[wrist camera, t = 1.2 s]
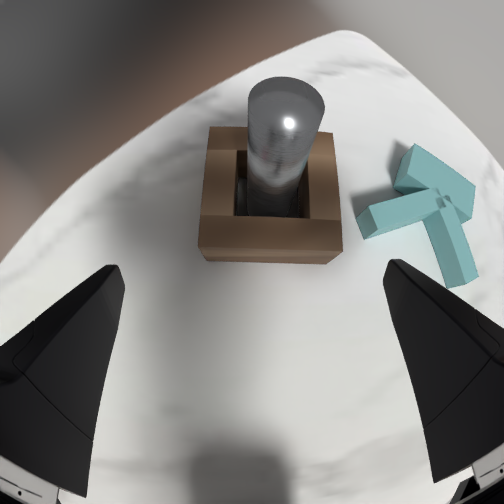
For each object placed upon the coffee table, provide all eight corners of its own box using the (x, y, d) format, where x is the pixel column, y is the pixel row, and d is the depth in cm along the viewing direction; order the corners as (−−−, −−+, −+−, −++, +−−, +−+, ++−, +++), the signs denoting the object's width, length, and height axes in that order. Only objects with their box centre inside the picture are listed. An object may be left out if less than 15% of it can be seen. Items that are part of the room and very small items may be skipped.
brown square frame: (325, 264, 24) (342, 251, 19) (206, 260, 24) (197, 246, 19) (320, 160, 26) (332, 133, 22) (215, 155, 26) (210, 126, 21)
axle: (297, 205, 25) (338, 103, 12) (270, 234, 24) (294, 145, 12) (265, 179, 25) (280, 67, 13) (238, 207, 25) (231, 102, 12)
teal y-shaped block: (456, 294, 23) (475, 290, 20) (350, 232, 24) (362, 220, 21) (474, 208, 25) (490, 198, 22) (382, 146, 27) (393, 130, 24)
